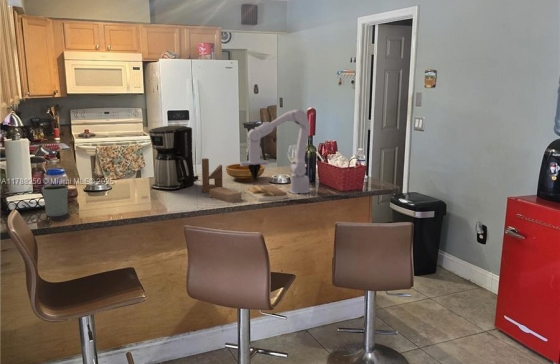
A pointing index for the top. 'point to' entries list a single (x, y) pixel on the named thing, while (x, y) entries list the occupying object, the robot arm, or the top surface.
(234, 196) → the brick
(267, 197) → the floor board
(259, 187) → the plank
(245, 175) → the wooden bowl
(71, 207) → the top surface
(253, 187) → the plank
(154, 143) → the coffee maker
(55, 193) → the gray cup
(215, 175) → the brown wooden bracket
